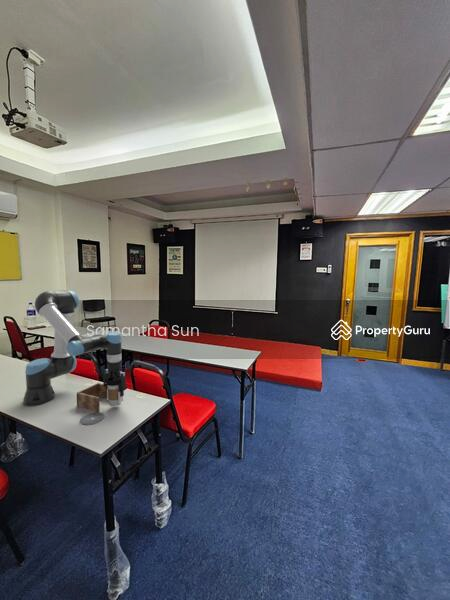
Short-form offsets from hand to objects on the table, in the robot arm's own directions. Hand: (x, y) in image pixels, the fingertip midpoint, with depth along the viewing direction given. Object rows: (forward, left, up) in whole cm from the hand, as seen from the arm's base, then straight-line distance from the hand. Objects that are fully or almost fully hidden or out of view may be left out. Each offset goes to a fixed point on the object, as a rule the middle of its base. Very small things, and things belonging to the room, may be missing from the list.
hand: (115, 400), depth 145 cm
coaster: (-2, -13, -4) cm, 14 cm away
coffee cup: (0, 0, -2) cm, 2 cm away
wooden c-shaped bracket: (-13, 0, -4) cm, 13 cm away
